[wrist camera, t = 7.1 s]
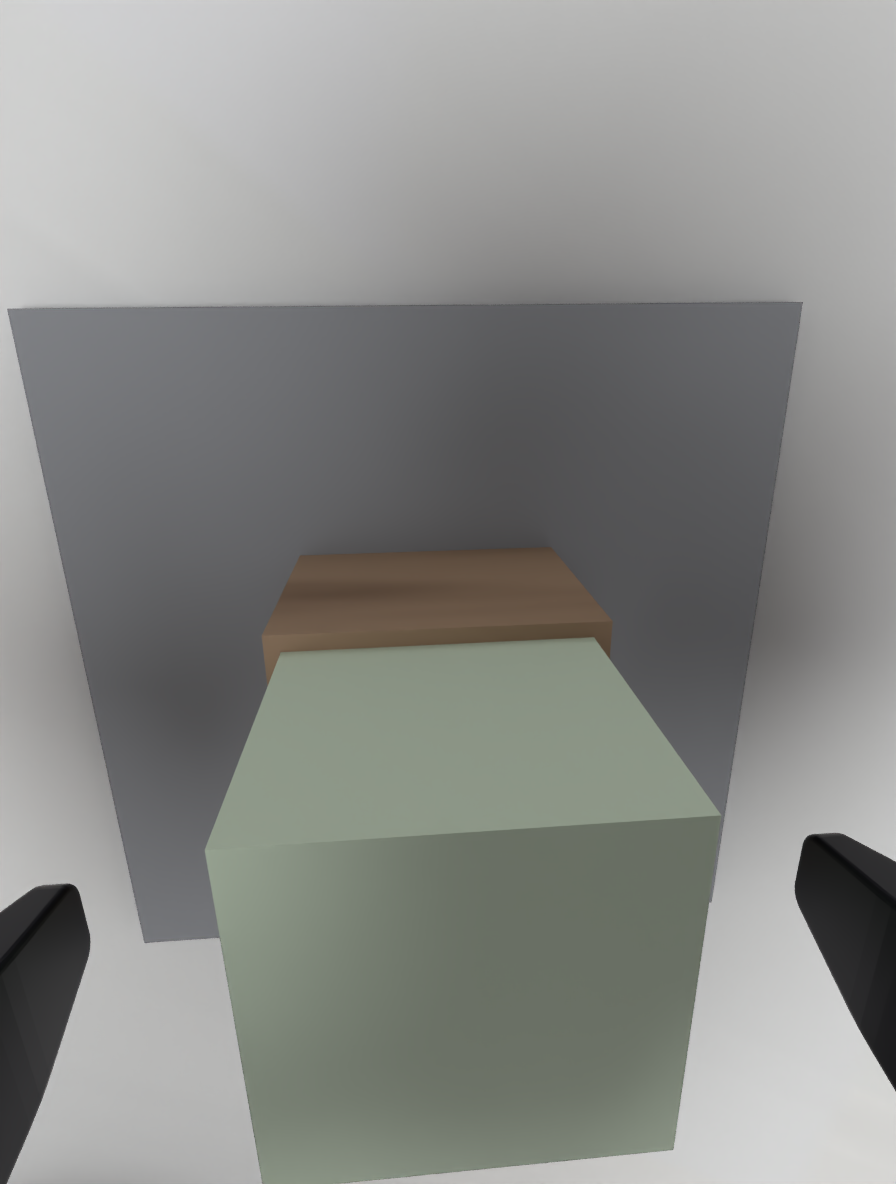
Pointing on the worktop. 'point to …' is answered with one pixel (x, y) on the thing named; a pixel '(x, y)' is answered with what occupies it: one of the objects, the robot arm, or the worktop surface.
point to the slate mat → (390, 507)
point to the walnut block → (430, 601)
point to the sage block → (459, 911)
